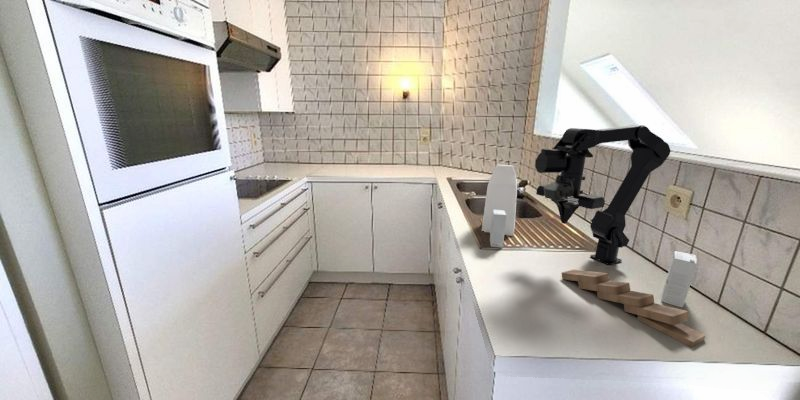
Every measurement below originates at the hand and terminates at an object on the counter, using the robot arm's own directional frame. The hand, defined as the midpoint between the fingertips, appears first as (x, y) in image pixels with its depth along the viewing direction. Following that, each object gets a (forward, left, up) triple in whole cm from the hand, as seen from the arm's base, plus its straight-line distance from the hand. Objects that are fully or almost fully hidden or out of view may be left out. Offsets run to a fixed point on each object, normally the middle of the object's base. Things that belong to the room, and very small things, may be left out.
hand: (563, 223), depth 96 cm
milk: (-4, -31, -13) cm, 34 cm away
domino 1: (+6, +8, -12) cm, 16 cm away
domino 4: (+6, +25, -12) cm, 28 cm away
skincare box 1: (+8, -19, -13) cm, 24 cm away
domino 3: (+6, +18, -12) cm, 23 cm away
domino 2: (+6, +13, -12) cm, 19 cm away
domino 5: (+6, +28, -13) cm, 31 cm away
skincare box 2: (-8, +27, -13) cm, 31 cm away
